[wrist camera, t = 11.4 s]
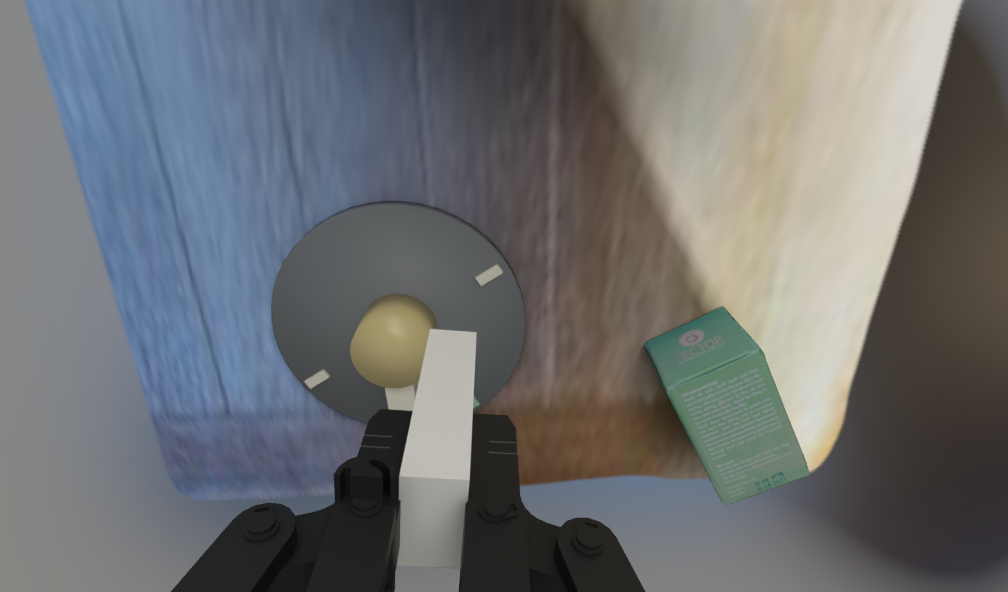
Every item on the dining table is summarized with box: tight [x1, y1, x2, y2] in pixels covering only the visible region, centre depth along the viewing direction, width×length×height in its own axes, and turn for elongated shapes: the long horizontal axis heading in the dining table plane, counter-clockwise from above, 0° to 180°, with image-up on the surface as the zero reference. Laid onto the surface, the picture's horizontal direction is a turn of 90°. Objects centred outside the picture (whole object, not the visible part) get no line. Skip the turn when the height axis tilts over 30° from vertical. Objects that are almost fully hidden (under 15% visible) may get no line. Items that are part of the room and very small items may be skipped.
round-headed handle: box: [350, 294, 438, 411], centre depth 43 cm, size 13×6×4 cm, turn 3°
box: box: [644, 306, 810, 505], centre depth 44 cm, size 7×14×8 cm, turn 29°
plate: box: [271, 201, 525, 423], centre depth 44 cm, size 20×20×2 cm
